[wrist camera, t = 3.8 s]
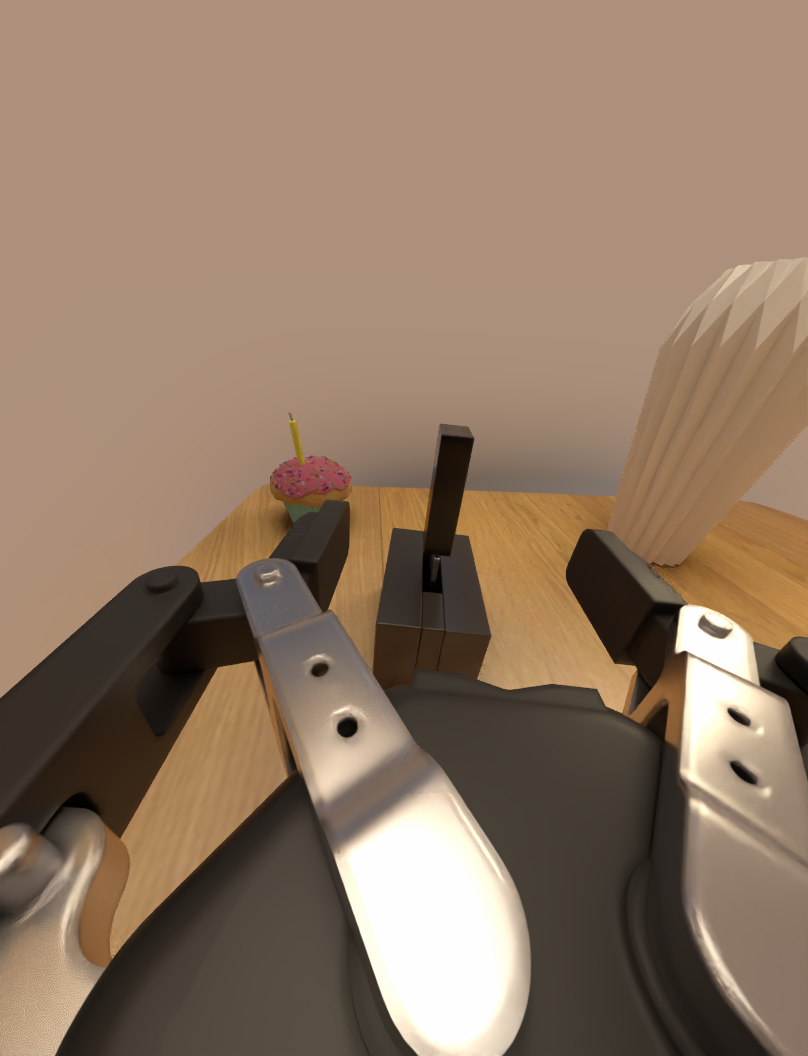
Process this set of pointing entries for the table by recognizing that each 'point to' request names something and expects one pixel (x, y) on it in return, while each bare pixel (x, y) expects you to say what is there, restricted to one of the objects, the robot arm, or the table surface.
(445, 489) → the knife
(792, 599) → the table surface
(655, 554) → the vase
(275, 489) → the cupcake
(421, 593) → the knife block
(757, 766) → the robot arm
